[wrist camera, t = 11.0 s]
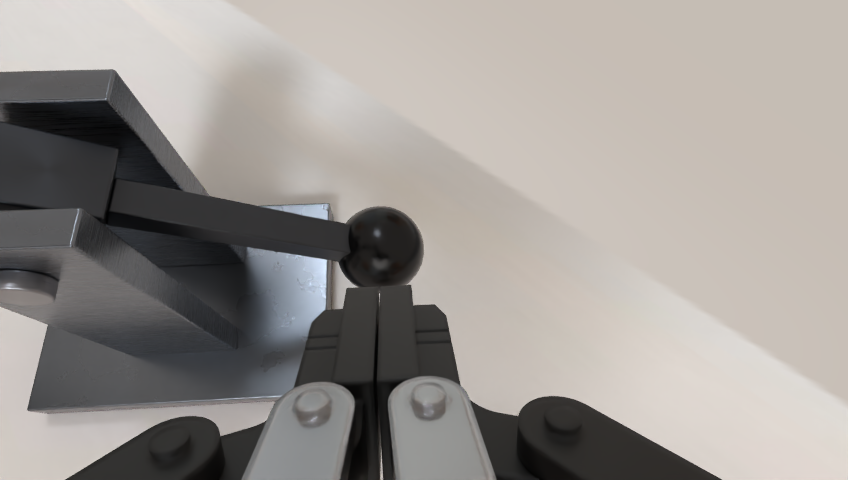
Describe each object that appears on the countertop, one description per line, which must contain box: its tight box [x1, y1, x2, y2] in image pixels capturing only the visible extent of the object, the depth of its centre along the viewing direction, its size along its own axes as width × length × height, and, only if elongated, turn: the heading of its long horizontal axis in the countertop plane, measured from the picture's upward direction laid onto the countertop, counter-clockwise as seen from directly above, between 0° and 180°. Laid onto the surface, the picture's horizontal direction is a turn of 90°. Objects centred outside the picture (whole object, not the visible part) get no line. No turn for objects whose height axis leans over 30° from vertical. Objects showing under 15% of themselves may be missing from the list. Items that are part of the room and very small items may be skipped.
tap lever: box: [0, 121, 424, 293], centre depth 16 cm, size 13×3×3 cm
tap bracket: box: [0, 69, 333, 414], centre depth 18 cm, size 12×9×13 cm
